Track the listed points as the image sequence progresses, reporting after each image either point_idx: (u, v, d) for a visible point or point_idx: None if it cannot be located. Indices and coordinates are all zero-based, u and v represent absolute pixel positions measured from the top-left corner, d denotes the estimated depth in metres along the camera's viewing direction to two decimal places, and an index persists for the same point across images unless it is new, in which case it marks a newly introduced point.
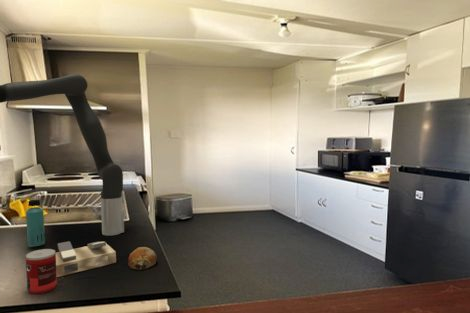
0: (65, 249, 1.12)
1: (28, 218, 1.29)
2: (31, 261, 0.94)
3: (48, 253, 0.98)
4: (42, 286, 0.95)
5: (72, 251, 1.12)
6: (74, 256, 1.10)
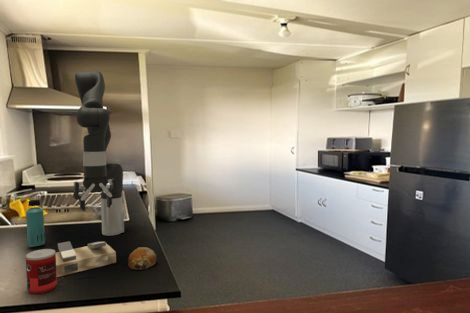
0: (65, 249, 1.12)
1: (28, 218, 1.29)
2: (31, 261, 0.94)
3: (48, 253, 0.98)
4: (42, 286, 0.95)
5: (72, 251, 1.12)
6: (74, 256, 1.10)
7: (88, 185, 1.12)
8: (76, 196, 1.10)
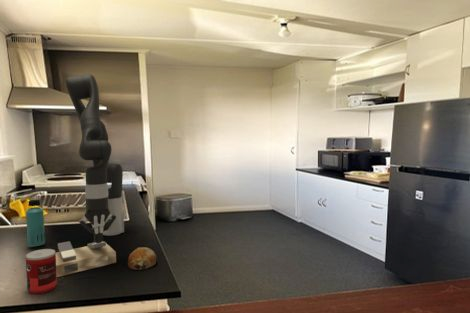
0: (65, 249, 1.12)
1: (28, 218, 1.29)
2: (31, 261, 0.94)
3: (48, 253, 0.98)
4: (42, 286, 0.95)
5: (72, 251, 1.12)
6: (74, 256, 1.10)
7: (91, 219, 1.13)
8: (90, 230, 1.13)
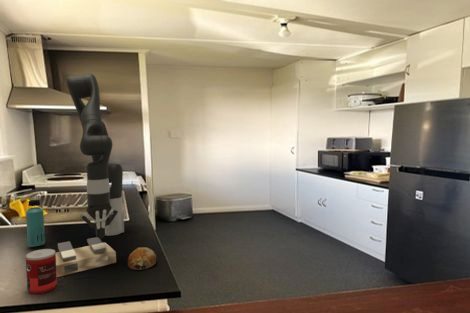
0: (65, 249, 1.12)
1: (28, 218, 1.29)
2: (31, 261, 0.94)
3: (48, 253, 0.98)
4: (42, 286, 0.95)
5: (72, 251, 1.12)
6: (74, 256, 1.10)
7: (93, 215, 1.13)
8: (92, 226, 1.13)
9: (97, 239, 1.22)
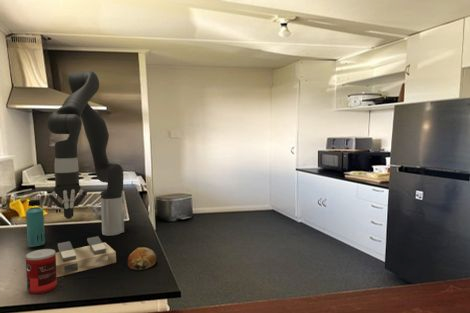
0: (65, 249, 1.12)
1: (28, 218, 1.29)
2: (31, 261, 0.94)
3: (48, 253, 0.98)
4: (42, 286, 0.95)
5: (72, 251, 1.12)
6: (74, 256, 1.10)
7: (61, 194, 1.12)
8: (59, 205, 1.11)
9: (97, 239, 1.22)
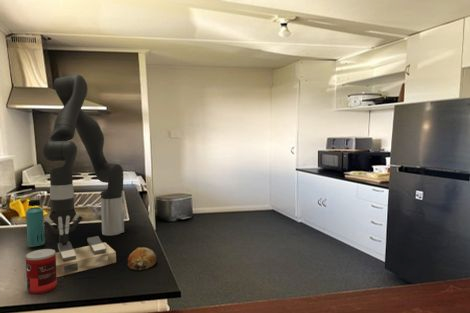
0: (65, 249, 1.12)
1: (28, 218, 1.29)
2: (31, 261, 0.94)
3: (48, 253, 0.98)
4: (42, 286, 0.95)
5: (72, 251, 1.12)
6: (74, 256, 1.10)
7: (56, 220, 1.12)
8: (54, 232, 1.12)
9: (97, 239, 1.22)
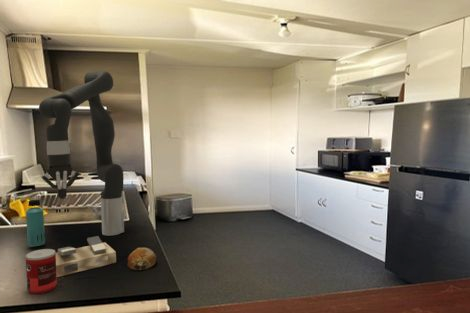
0: (65, 249, 1.13)
1: (28, 218, 1.29)
2: (31, 261, 0.94)
3: (48, 253, 0.98)
4: (42, 286, 0.95)
5: (72, 248, 1.12)
6: (74, 250, 1.10)
7: (54, 175, 1.17)
8: (52, 186, 1.17)
9: (97, 238, 1.22)
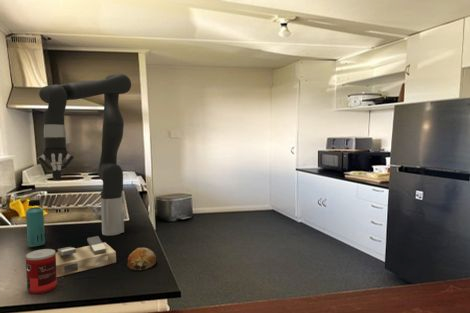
0: (65, 249, 1.13)
1: (28, 218, 1.29)
2: (31, 261, 0.94)
3: (48, 253, 0.98)
4: (42, 286, 0.95)
5: (72, 248, 1.12)
6: (74, 250, 1.10)
7: (49, 157, 1.24)
8: (48, 167, 1.24)
9: (97, 238, 1.22)
